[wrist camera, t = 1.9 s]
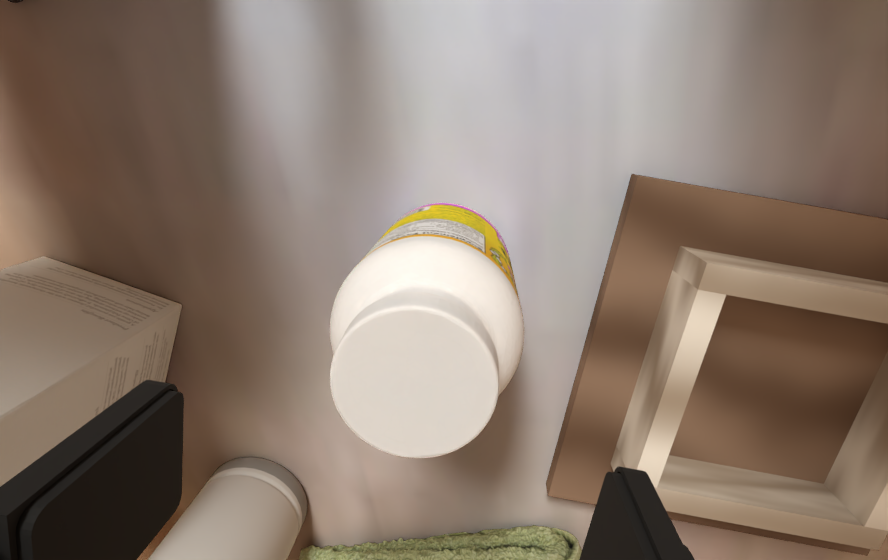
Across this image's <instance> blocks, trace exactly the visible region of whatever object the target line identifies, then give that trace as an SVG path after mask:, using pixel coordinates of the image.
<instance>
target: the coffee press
mask: <svg viewBox="0 0 888 560" xmlns="http://www.w3.org/2000/svg"><path fill="white" fill-rule="evenodd" d="M8 1H10V2H13V3H18V2H21V1H23V0H8Z"/></svg>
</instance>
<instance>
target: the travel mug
mask: <svg viewBox="0 0 888 560" xmlns="http://www.w3.org/2000/svg"><path fill="white" fill-rule="evenodd" d="M306 513H307V500H306V495H305V493H304V490H303V488H302V486H301V484H300V483H299V482H298V480H297V479H296V478H295V477H294V476H293V475H292V474H291V473H290V472H289V471H288V470H287V469H285V468H284V467H282V466H281V465H279V464H277V463H275V462H273V461H270V460H266V459H263V458H256V457H243V458H238V459H234V460H231V461H229V462H227V463H224V464H223V465H222V466H220V467H219V468H218V469H217V470H216V471H215V472H214V474H213V475H212V476H211V478H210V479H209V480H208V481H207V483H206V484H205V485H204V487H203V488H202V490H201V491H200V492H199V493H198V495H197V496H196V497H195V498H194V500H193V501H192V502H191V504H190V505H189V506H188V508H187V509H186V510H185V512H184V513H183V514H182V515H181V517H180V518H179V519H178V521H177V522H176V523H175V525H174V526H173V527H172V528H171V530H170V531H169V532H168V534H167V535H166V536H165V538H164V539H163V540H162V542H161V543H160V544H159V545H158V547H157V548H156V549H155V551H154V552H153V553H152V555H151V556H150V557H149V559H148V560H287V558H288V556H289V554H290V552H291V549H292V547H293V545H294V543H295V540H296V537H297V535H298V534H299V531H300V529H301V527H302V525H303V522H304V520H305V517H306Z"/></svg>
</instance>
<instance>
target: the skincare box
mask: <svg viewBox="0 0 888 560" xmlns="http://www.w3.org/2000/svg"><path fill="white" fill-rule="evenodd" d="M181 309H182V305H181V304H179V303H176V302H173V301H170V300H168V299H165V298H162V297H159V296H156V295H154V294H151V293H148V292H145V291H142V290H140V289H137V288H134V287H131V286H128V285H125V284H123V283H120V282H117V281H114V280H111V279H108V278H106V277H103V276H100V275H97V274H94V273H91V272H88V271H85V270H83V269H80V268H77V267H74V266H71V265H68V264H65V263H62V262H60V261H57V260H54V259H51V258H48V257H45V256H43V257H40V258H37V259H33V260H30V261H27V262H23V263H20V264H17V265H14V266H10V267H7V268H4V269H1V270H0V487H1V486H2V485H3V484H5V483H6V482H7V481H9V480H10V479H11V478H13V477H14V476H16V475H17V474H18V473H20V472H21V471H22V470H24V469H25V468H26V467H28V466H29V465H30V464H32V463H33V462H35V461H36V460H37V459H39V458H40V457H41V456H43V455H44V454H45V453H47V452H48V451H49V450H51V449H52V448H54V447H55V446H56V445H58V444H59V443H60V442H62V441H63V440H64V439H66V438H67V437H68V436H70V435H71V434H73V433H74V432H75V431H77V430H78V429H79V428H81V427H82V426H83V425H85V424H86V423H87V422H89V421H90V420H92V419H93V418H94V417H96V416H97V415H98V414H100V413H101V412H102V411H104V410H105V409H106V408H108V407H109V406H111V405H112V404H113V403H115V402H116V401H117V400H119V399H120V398H121V397H123V396H124V395H125V394H127V393H128V392H130V391H131V390H132V389H134V388H135V387H136V386H138V385H139V384H140V383H142V382H143V381H145V380H153V381H159V382H164V383H165V381H166V376H167V372H168V367H169V363H170V358H171V353H172V349H173V345H174V340H175V336H176V331H177V327H178V322H179V318H180V313H181Z"/></svg>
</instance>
